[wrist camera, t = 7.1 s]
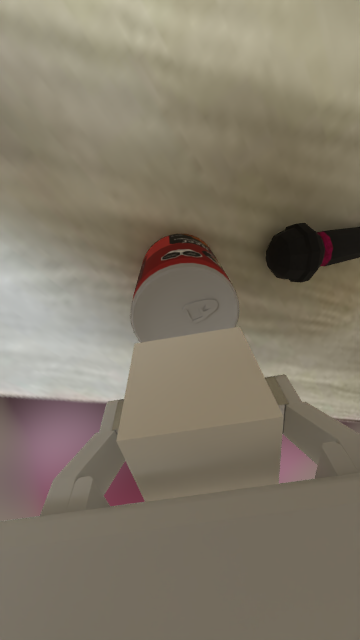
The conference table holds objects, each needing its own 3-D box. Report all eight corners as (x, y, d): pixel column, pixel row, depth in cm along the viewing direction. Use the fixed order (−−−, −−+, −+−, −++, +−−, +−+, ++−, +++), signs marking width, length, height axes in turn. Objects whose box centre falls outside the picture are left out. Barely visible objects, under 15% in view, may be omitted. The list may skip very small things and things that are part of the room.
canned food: (228, 268, 27) (261, 317, 18) (175, 312, 30) (180, 376, 20) (181, 214, 24) (192, 238, 15) (127, 268, 27) (106, 319, 17)
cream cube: (134, 343, 12) (116, 441, 7) (239, 326, 12) (283, 416, 7) (156, 413, 14) (152, 516, 10) (243, 400, 14) (277, 499, 10)
